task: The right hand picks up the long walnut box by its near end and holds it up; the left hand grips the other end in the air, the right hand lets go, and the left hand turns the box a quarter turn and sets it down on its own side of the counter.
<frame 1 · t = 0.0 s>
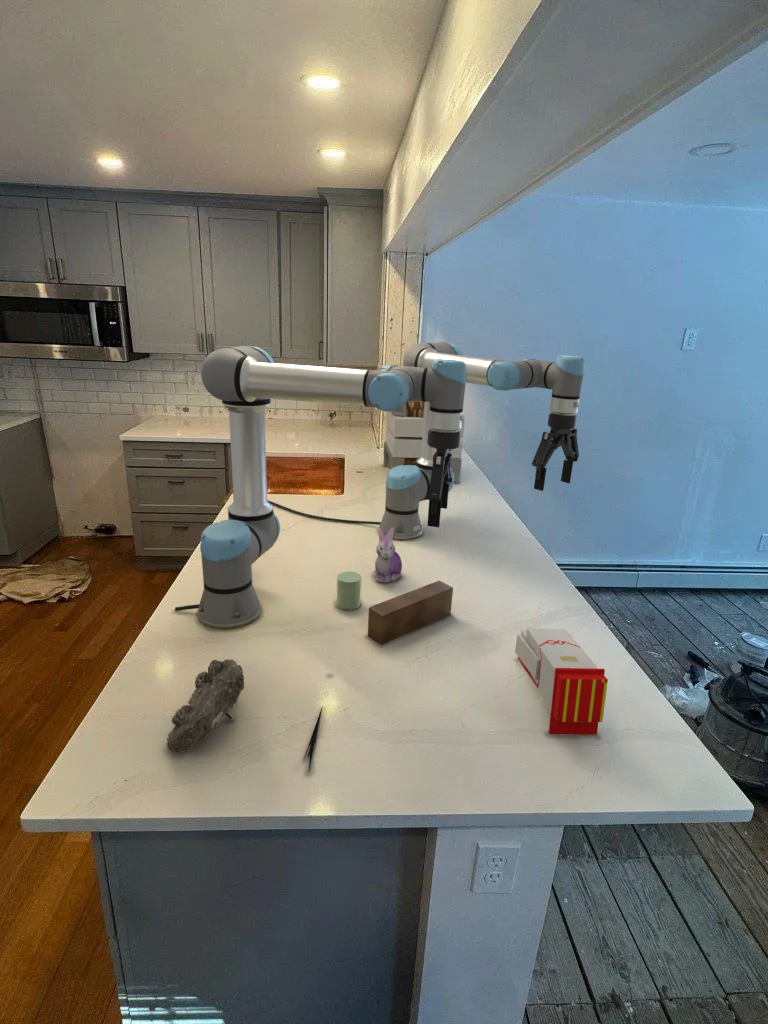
left hand: (437, 516, 137), 28 cm above the counter, fingers open, 13 cm apart
right hand: (552, 485, 166), 28 cm above the counter, fingers open, 13 cm apart
pale green cylinder: (348, 603, 152), on the counter
figurine: (387, 576, 168), on the counter
fossil: (212, 717, 108), on the counter
transformer: (419, 473, 275), on the counter
feather: (319, 719, 109), on the counter
toy: (550, 690, 120), on the counter
walnut box: (410, 625, 143), on the counter
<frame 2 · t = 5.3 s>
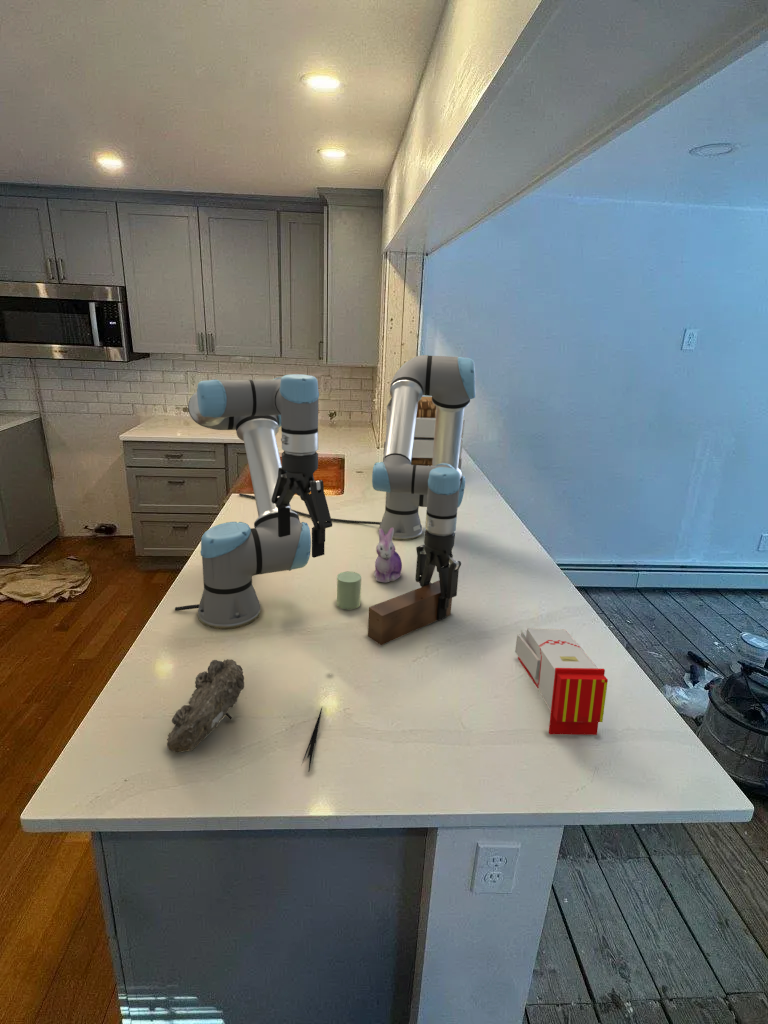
left hand: (300, 545, 125), 25 cm above the counter, fingers open, 13 cm apart
right hand: (433, 613, 147), 1 cm above the counter, fingers closed on walnut box, 5 cm apart
walnut box: (410, 625, 143), on the counter, touching right hand
everything else where it was.
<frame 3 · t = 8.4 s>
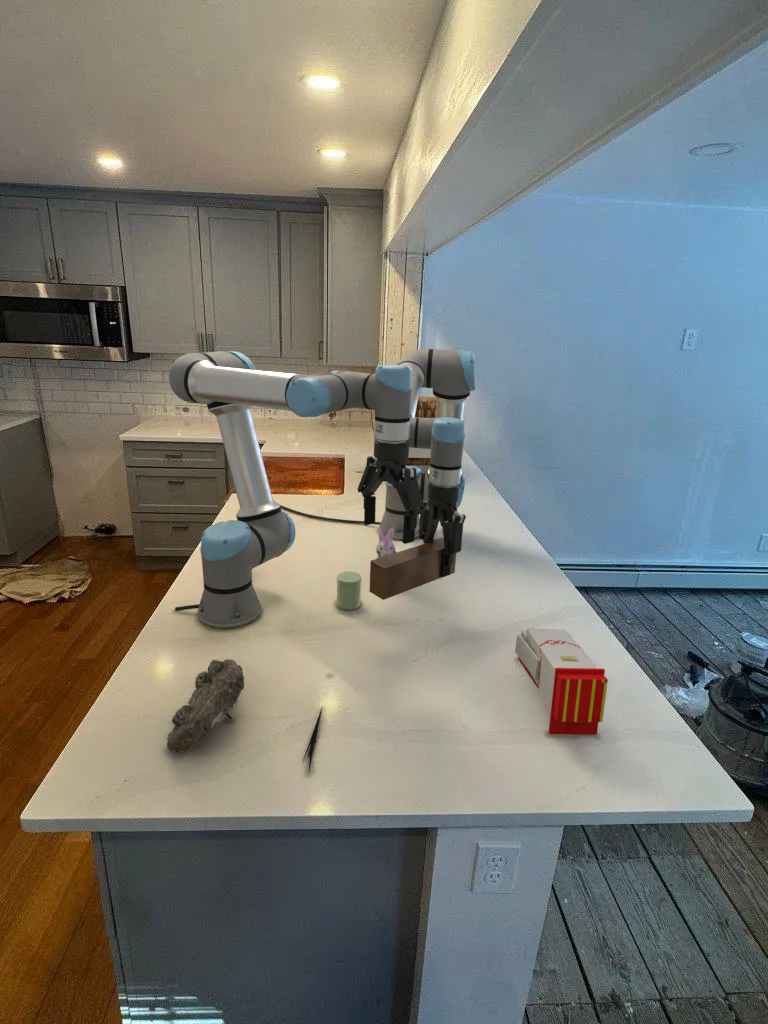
left hand: (388, 532, 128), 27 cm above the counter, fingers open, 13 cm apart
right hand: (436, 571, 143), 13 cm above the counter, fingers closed on walnut box, 5 cm apart
walnut box: (413, 581, 139), point 12 cm above the counter, touching right hand
everything else where it was.
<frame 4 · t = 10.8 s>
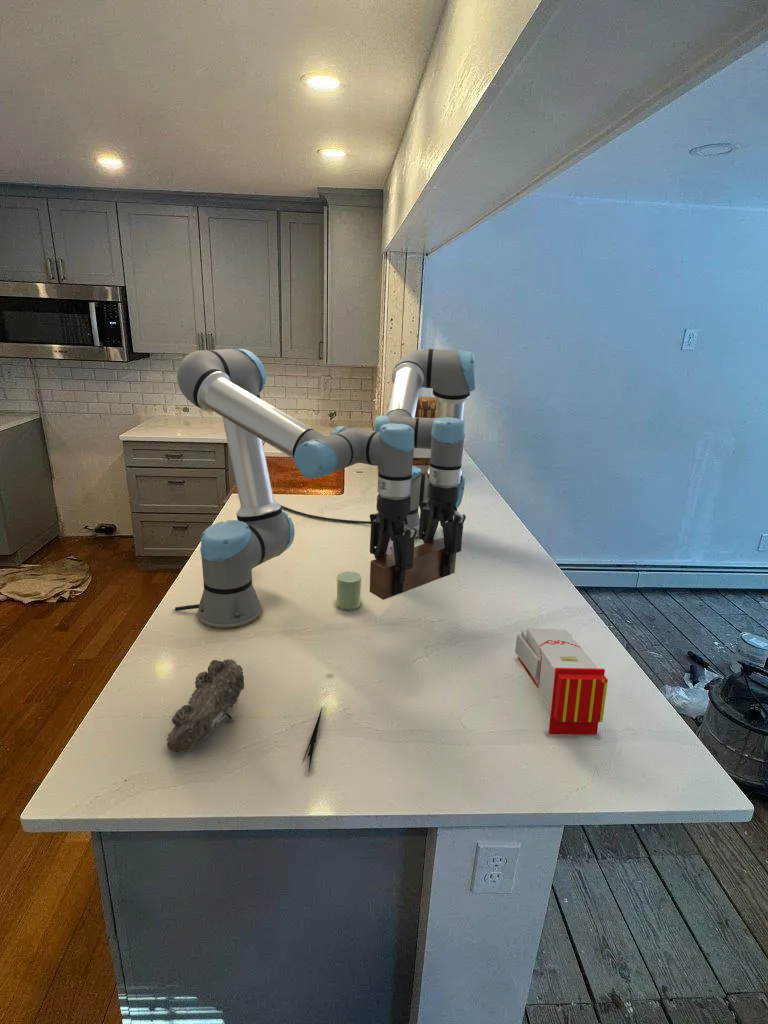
left hand: (389, 588, 133), 13 cm above the counter, fingers closed on walnut box, 5 cm apart
right hand: (436, 571, 143), 13 cm above the counter, fingers closed on walnut box, 5 cm apart
walnut box: (413, 581, 139), point 12 cm above the counter, touching right hand, left hand
everything else where it was.
when the right hand's fingers open (13 cm above the counter, at t = 11.6 s): walnut box stays where it is, held by the left hand.
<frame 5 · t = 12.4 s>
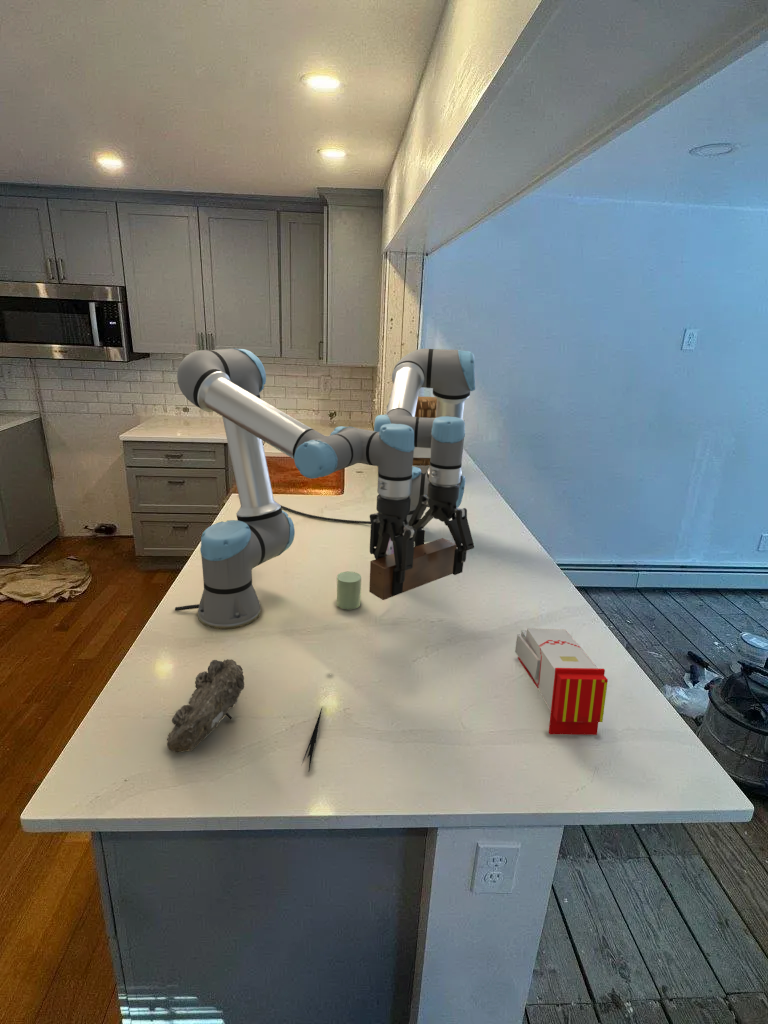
left hand: (388, 588, 133), 13 cm above the counter, fingers closed on walnut box, 5 cm apart
right hand: (437, 563, 143), 15 cm above the counter, fingers open, 13 cm apart
walnut box: (413, 582, 139), point 12 cm above the counter, touching left hand
everything else where it was.
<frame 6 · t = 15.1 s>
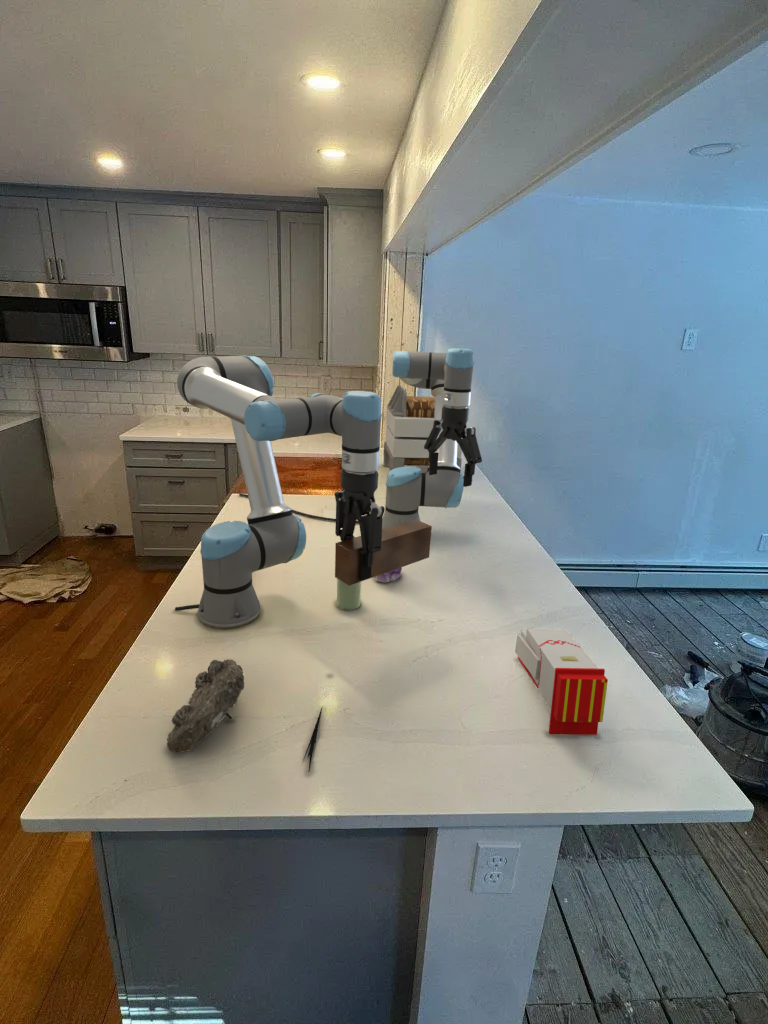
left hand: (356, 573, 122), 21 cm above the counter, fingers closed on walnut box, 5 cm apart
right hand: (449, 480, 164), 29 cm above the counter, fingers open, 13 cm apart
walnut box: (384, 566, 128), point 20 cm above the counter, touching left hand
everything else where it was.
when the left hand's fingers open (2 cm above the counter, at t = 19.7 s): walnut box drops 1 cm, on the counter.
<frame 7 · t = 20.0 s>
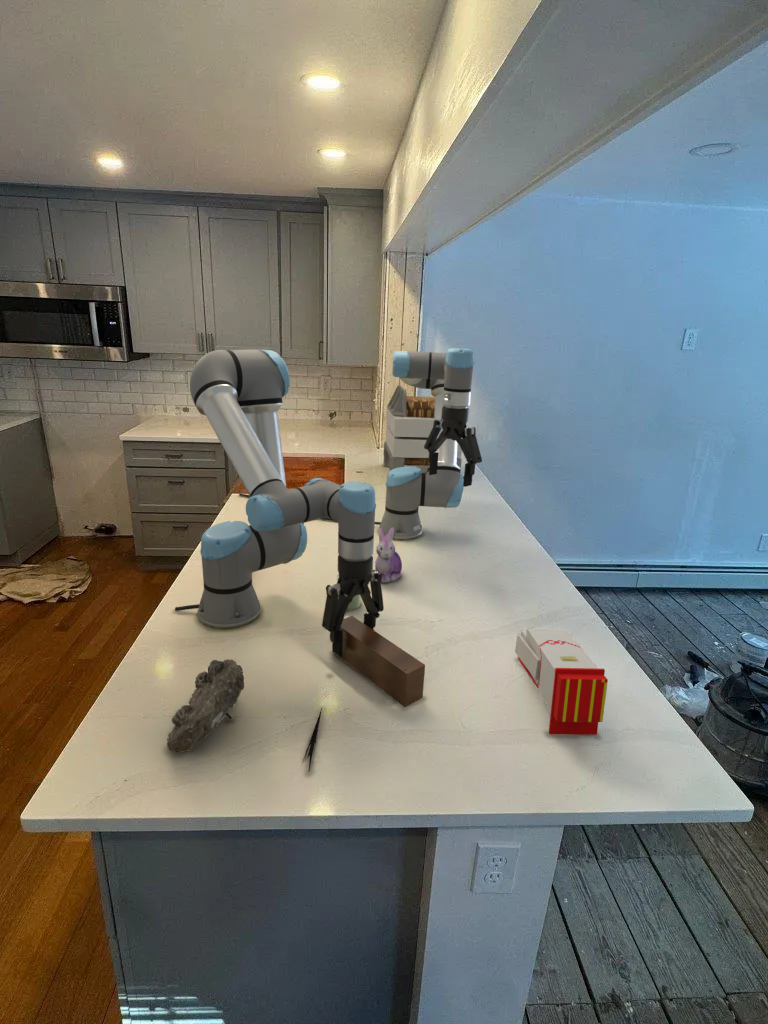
left hand: (352, 646, 128), 3 cm above the counter, fingers open, 8 cm apart
right hand: (449, 479, 164), 29 cm above the counter, fingers open, 13 cm apart
walnut box: (375, 674, 123), on the counter
everything else where it was.
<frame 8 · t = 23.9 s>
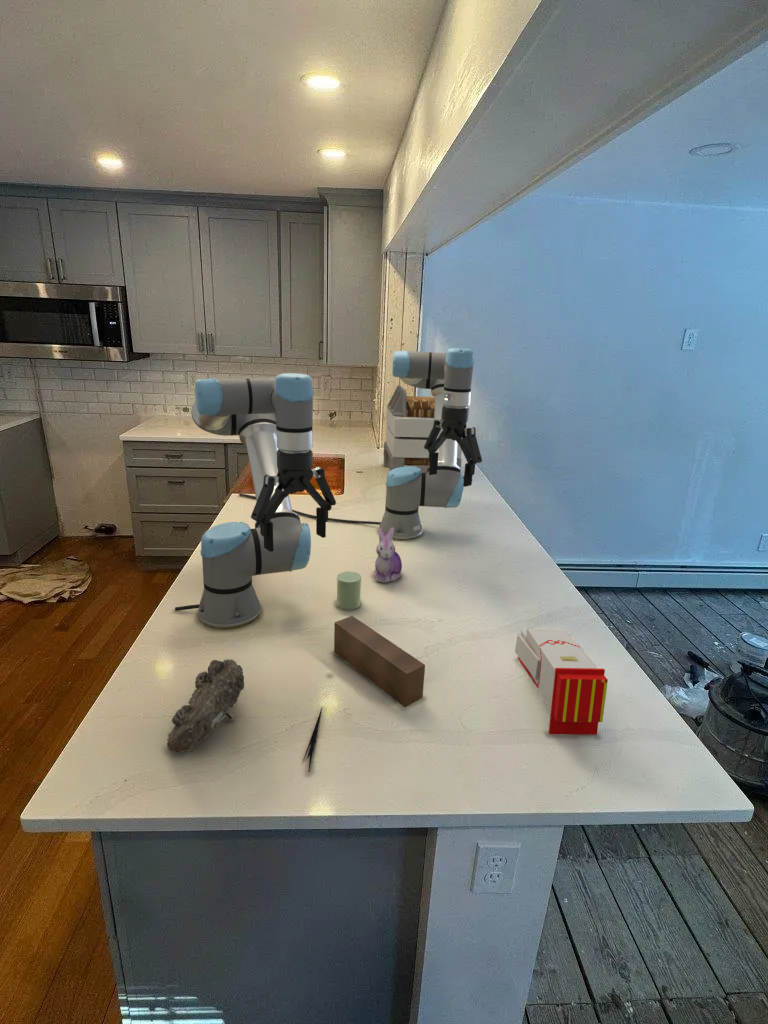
left hand: (295, 542, 126), 25 cm above the counter, fingers open, 13 cm apart
right hand: (449, 479, 164), 29 cm above the counter, fingers open, 13 cm apart
nothing on the counter moved.
at the end: walnut box inside the target area (0.2 cm from its centre), on the counter; both hands held the walnut box at the same time; the left hand is holding nothing; the right hand is holding nothing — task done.
